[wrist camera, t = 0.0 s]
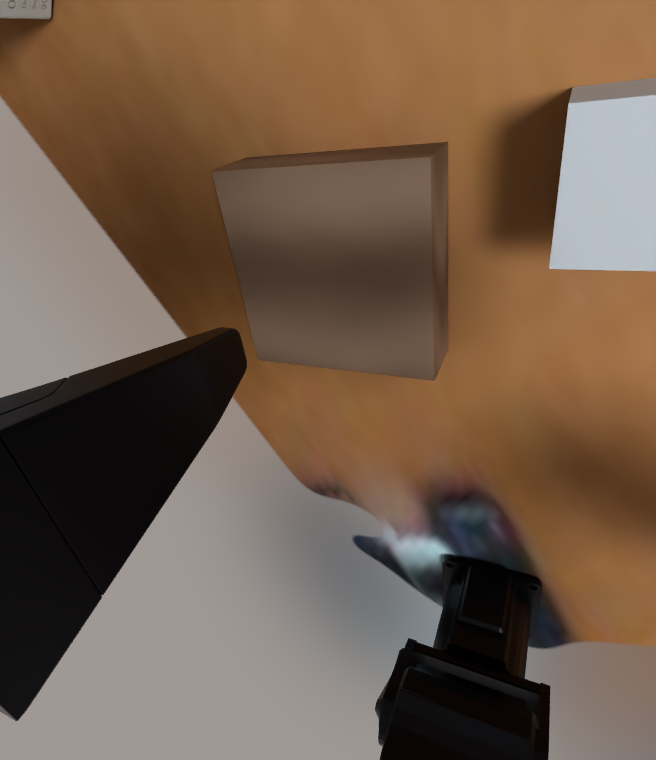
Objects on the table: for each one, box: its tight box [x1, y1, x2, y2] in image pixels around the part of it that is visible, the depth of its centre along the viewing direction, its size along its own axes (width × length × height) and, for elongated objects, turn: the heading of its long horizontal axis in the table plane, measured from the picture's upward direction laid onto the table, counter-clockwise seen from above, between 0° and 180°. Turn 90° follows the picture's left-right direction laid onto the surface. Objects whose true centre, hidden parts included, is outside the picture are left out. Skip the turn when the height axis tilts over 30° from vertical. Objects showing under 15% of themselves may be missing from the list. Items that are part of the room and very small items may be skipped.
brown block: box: [212, 142, 448, 381], centre depth 24 cm, size 10×10×3 cm
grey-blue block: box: [549, 78, 656, 271], centre depth 16 cm, size 5×5×5 cm
